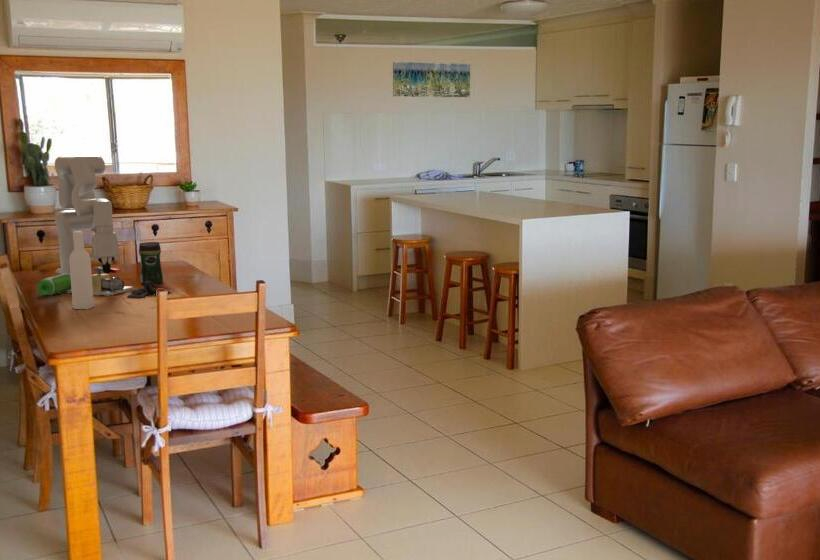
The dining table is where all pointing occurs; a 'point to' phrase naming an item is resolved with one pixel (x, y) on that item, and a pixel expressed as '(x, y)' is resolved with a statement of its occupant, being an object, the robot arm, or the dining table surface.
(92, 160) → the robot arm
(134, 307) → the dining table surface
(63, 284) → the speaker
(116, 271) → the lever
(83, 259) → the bottle
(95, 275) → the valve pipe
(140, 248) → the coffee jar
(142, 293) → the cloth
